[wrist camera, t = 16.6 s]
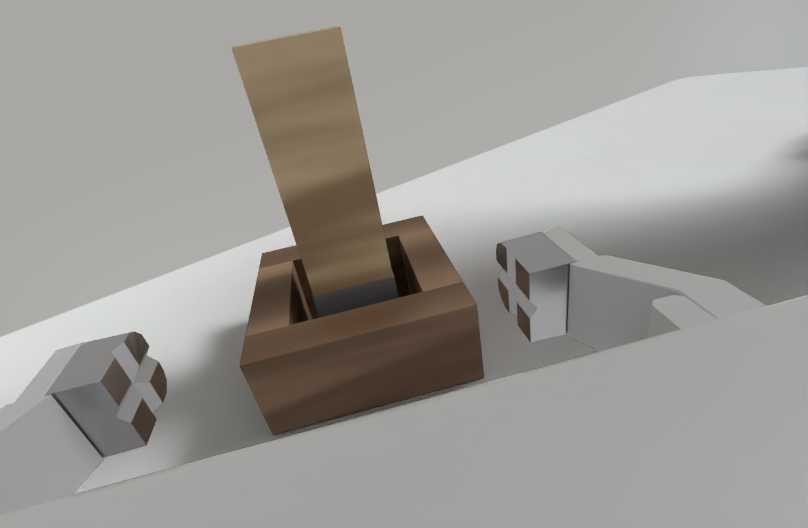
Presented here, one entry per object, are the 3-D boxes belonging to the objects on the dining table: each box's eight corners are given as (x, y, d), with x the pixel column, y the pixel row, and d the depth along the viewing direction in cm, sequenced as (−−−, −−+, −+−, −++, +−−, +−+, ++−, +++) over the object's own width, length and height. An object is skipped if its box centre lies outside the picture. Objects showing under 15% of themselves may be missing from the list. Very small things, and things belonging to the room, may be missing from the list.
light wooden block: (409, 352, 24) (341, 26, 16) (337, 371, 24) (229, 47, 15) (396, 310, 27) (335, 26, 19) (333, 326, 27) (244, 44, 19)
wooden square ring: (484, 377, 21) (476, 304, 19) (273, 435, 20) (239, 365, 18) (431, 273, 30) (422, 215, 28) (283, 310, 30) (262, 253, 27)
